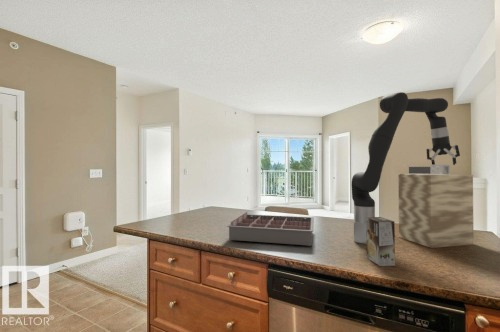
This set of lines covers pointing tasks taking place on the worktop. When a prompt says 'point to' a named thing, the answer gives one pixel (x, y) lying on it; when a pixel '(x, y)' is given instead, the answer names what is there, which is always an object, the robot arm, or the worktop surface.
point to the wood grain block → (436, 209)
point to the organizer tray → (272, 229)
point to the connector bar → (430, 169)
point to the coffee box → (380, 241)
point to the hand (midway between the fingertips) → (444, 165)
